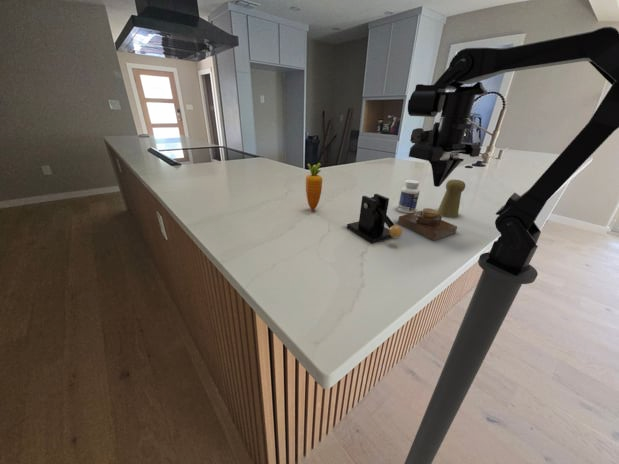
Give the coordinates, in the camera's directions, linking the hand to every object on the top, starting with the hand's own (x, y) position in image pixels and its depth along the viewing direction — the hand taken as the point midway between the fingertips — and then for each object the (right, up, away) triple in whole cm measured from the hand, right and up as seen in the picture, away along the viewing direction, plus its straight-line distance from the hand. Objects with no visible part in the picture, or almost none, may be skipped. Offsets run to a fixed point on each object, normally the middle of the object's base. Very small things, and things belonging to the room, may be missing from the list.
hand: (436, 186), depth 64 cm
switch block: (+1, -10, +8) cm, 13 cm away
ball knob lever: (-14, -9, -1) cm, 16 cm away
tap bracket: (-16, -12, +4) cm, 20 cm away
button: (+1, -7, +6) cm, 9 cm away
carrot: (-31, -5, +17) cm, 35 cm away
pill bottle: (0, -5, +20) cm, 20 cm away
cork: (+12, -6, +18) cm, 23 cm away
